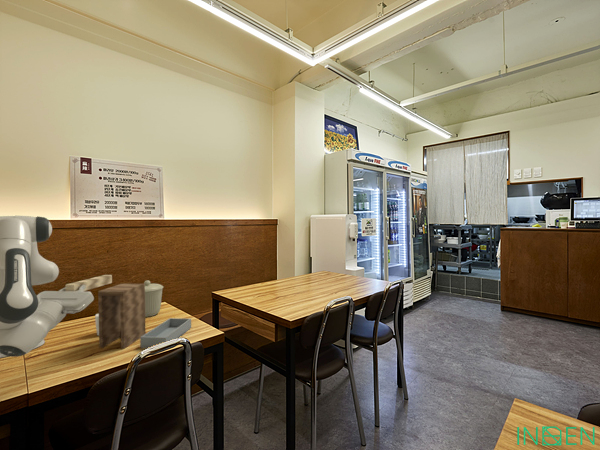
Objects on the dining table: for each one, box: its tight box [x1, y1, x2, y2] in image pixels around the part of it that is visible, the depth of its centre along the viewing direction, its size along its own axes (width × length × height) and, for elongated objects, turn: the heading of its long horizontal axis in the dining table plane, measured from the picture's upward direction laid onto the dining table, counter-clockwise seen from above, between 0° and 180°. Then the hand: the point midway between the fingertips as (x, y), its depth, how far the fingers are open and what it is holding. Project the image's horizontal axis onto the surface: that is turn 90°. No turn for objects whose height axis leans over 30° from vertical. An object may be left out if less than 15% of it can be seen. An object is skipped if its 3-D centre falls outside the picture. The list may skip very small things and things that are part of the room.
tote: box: [139, 317, 192, 349], centre depth 147 cm, size 26×12×5 cm, turn 175°
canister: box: [143, 280, 164, 318], centre depth 182 cm, size 18×18×21 cm
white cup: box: [94, 313, 99, 337], centre depth 153 cm, size 8×8×10 cm
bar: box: [65, 274, 113, 292], centre depth 123 cm, size 20×4×4 cm, turn 175°
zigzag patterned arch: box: [97, 283, 147, 350], centre depth 143 cm, size 16×12×26 cm
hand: (77, 285), depth 117 cm, fingers closed on bar, 3 cm apart
